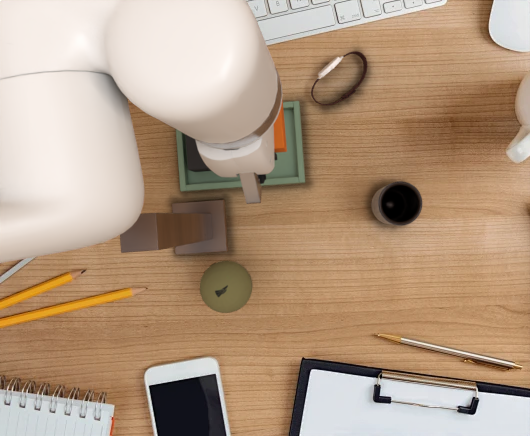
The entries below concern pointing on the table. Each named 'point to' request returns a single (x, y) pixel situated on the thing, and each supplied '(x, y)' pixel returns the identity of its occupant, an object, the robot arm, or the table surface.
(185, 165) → the holder
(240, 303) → the green pear
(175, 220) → the stand
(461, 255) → the table surface
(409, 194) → the planter
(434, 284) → the table surface
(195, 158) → the pad
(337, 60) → the watch
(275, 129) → the orange block
